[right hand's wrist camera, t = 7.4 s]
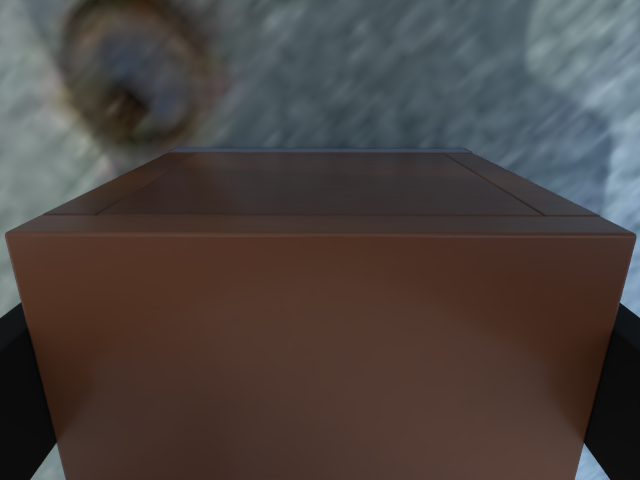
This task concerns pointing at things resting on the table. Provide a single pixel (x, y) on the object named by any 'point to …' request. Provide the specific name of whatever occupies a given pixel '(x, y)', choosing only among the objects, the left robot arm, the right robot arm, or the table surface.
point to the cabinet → (320, 318)
